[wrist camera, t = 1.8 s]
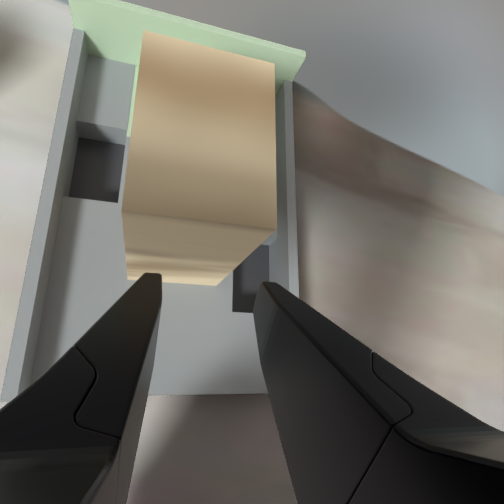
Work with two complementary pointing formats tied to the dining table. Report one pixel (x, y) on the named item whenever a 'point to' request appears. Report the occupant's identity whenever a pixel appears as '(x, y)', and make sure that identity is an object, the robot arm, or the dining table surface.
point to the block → (198, 162)
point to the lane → (110, 217)
